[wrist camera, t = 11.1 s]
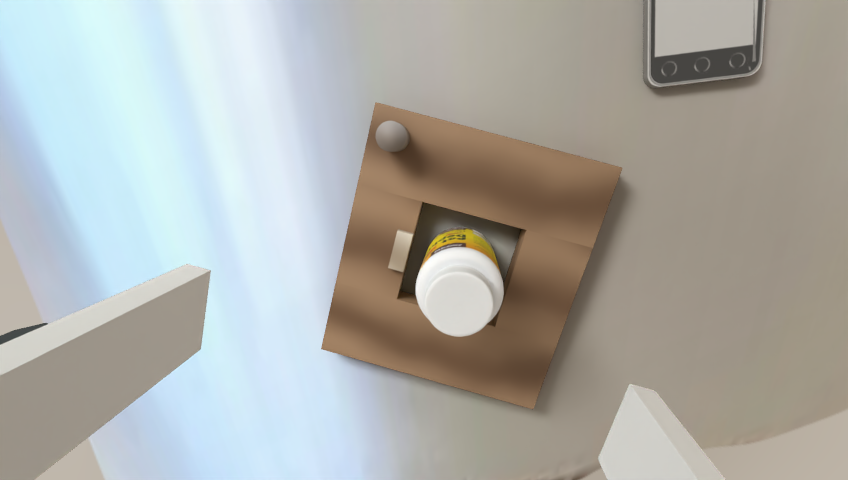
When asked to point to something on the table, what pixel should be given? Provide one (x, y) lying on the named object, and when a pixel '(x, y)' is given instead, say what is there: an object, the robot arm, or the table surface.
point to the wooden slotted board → (479, 196)
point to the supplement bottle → (459, 282)
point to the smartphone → (701, 40)
